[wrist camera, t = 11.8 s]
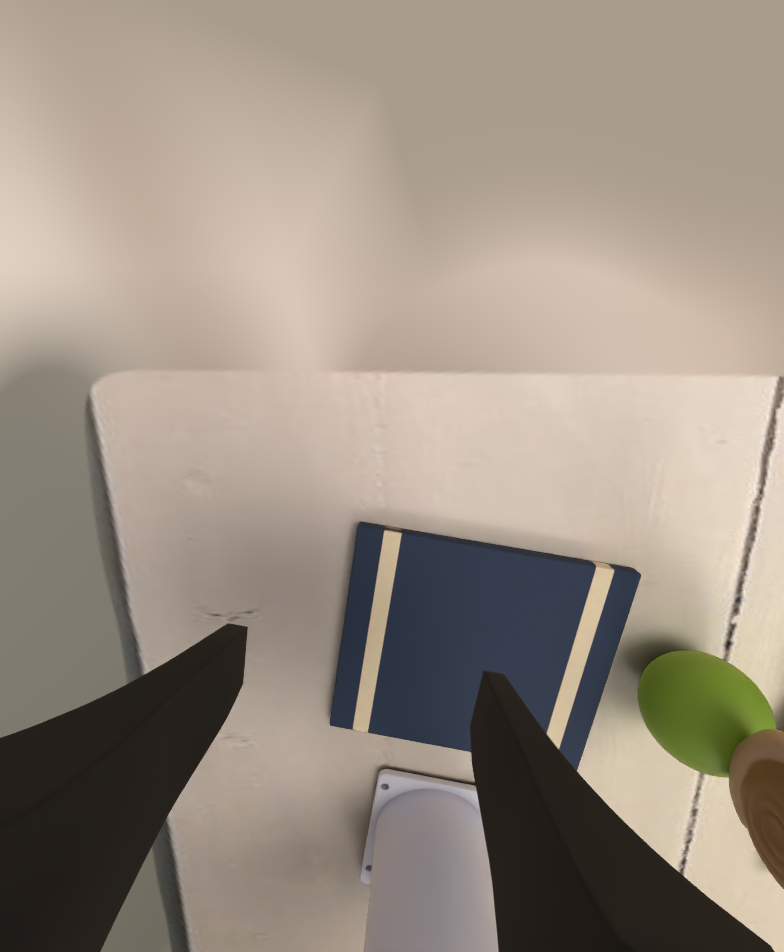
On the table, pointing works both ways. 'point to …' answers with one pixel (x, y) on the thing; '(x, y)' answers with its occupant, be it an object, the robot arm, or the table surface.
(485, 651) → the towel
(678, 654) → the snail figurine
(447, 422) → the table surface
